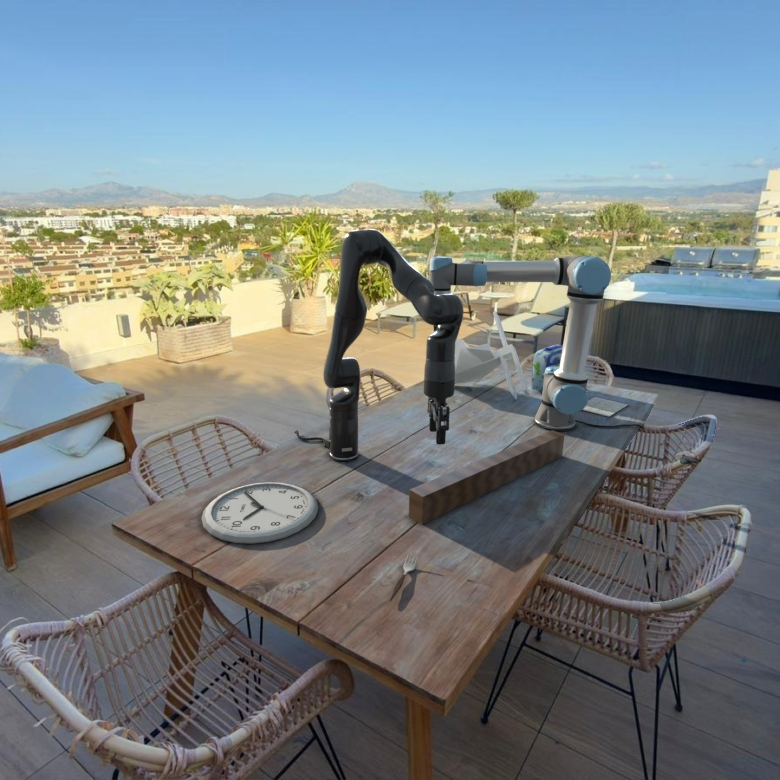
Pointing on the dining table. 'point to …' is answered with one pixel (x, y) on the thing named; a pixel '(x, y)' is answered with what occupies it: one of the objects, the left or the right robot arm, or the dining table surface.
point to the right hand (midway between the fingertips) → (437, 361)
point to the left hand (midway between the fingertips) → (437, 437)
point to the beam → (482, 476)
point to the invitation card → (603, 406)
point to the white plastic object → (486, 361)
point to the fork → (407, 568)
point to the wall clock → (259, 513)
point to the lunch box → (544, 364)
